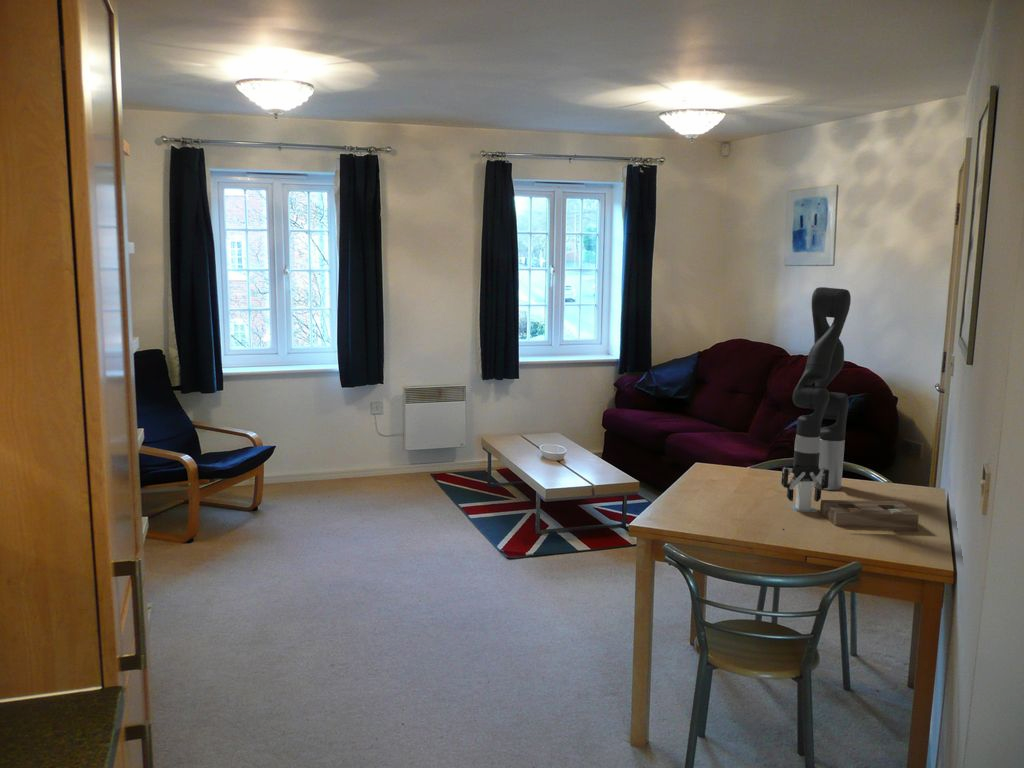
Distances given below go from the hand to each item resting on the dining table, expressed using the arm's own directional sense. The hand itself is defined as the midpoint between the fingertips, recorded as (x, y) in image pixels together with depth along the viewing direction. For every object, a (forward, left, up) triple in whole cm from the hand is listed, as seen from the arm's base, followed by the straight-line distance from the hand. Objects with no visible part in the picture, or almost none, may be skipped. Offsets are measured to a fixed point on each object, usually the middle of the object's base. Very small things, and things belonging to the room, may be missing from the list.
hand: (803, 500), depth 266 cm
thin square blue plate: (0, 0, -3) cm, 3 cm away
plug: (0, 0, -2) cm, 2 cm away
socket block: (+10, +16, -3) cm, 19 cm away
